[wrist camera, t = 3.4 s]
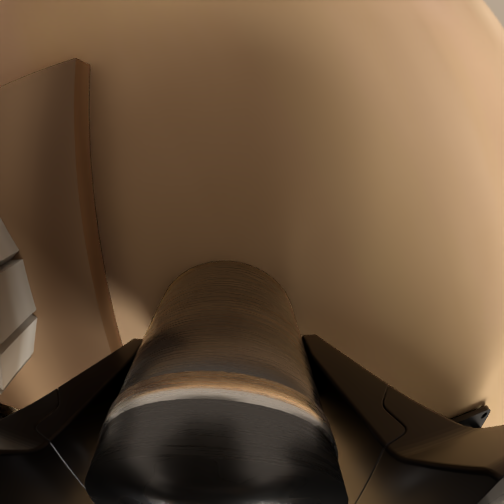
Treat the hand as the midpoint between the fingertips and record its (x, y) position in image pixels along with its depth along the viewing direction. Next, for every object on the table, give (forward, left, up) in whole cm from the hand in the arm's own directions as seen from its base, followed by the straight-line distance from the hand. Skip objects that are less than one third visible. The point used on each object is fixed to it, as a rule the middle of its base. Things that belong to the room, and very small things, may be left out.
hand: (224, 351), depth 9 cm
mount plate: (+11, -2, -2) cm, 11 cm away
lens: (0, 0, -2) cm, 2 cm away
